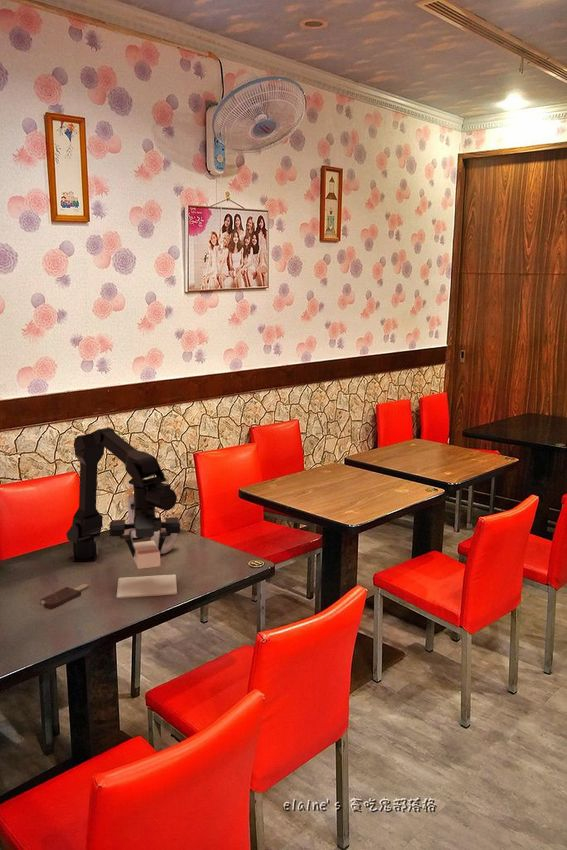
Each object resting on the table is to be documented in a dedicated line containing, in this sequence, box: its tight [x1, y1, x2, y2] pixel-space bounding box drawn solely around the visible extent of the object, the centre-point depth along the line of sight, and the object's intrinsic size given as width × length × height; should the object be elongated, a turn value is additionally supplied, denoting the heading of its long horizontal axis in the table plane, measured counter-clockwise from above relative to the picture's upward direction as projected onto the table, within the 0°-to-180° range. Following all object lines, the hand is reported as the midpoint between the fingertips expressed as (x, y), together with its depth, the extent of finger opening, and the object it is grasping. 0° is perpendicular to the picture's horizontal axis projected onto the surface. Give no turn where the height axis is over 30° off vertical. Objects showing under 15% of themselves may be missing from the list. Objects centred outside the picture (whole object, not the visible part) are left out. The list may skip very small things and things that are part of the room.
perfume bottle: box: [125, 483, 138, 539], centre depth 232 cm, size 6×6×20 cm
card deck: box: [132, 540, 161, 570], centre depth 195 cm, size 9×6×4 cm, turn 21°
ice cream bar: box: [39, 583, 89, 610], centre depth 190 cm, size 5×2×15 cm
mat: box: [116, 574, 178, 599], centre depth 197 cm, size 16×12×1 cm
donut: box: [150, 531, 178, 555], centre depth 220 cm, size 10×4×10 cm, turn 143°
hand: (146, 556), depth 195 cm, fingers closed on card deck, 6 cm apart
